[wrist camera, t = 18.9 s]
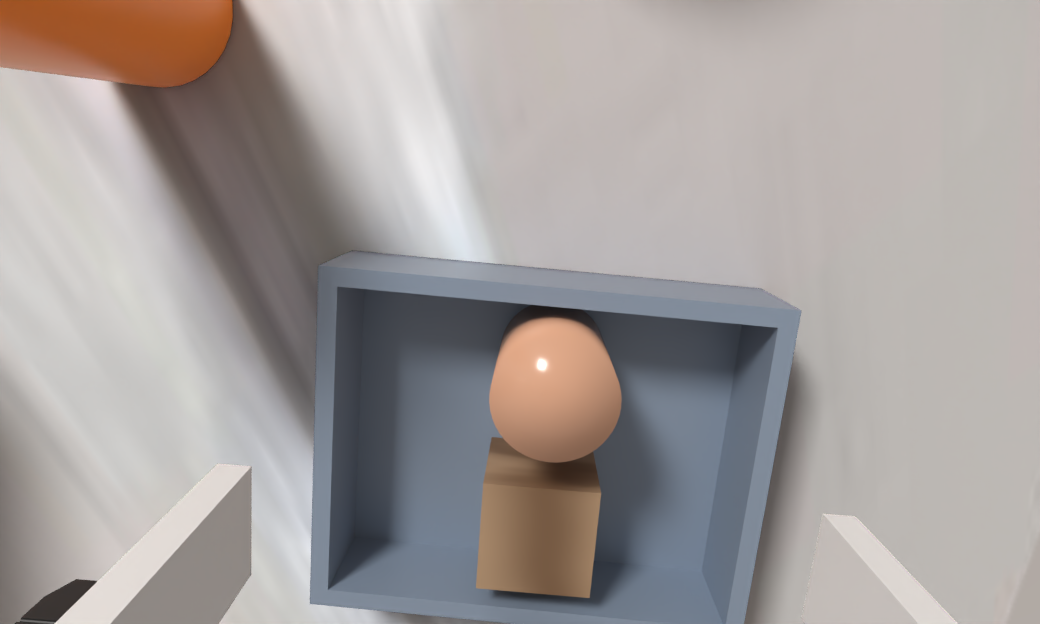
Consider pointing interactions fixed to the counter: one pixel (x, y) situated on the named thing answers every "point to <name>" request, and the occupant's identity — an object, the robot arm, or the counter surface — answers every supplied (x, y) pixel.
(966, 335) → the counter surface
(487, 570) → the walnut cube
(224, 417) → the counter surface
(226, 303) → the counter surface
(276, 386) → the counter surface
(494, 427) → the tote
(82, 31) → the shaker bottle
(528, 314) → the peach capsule pill
